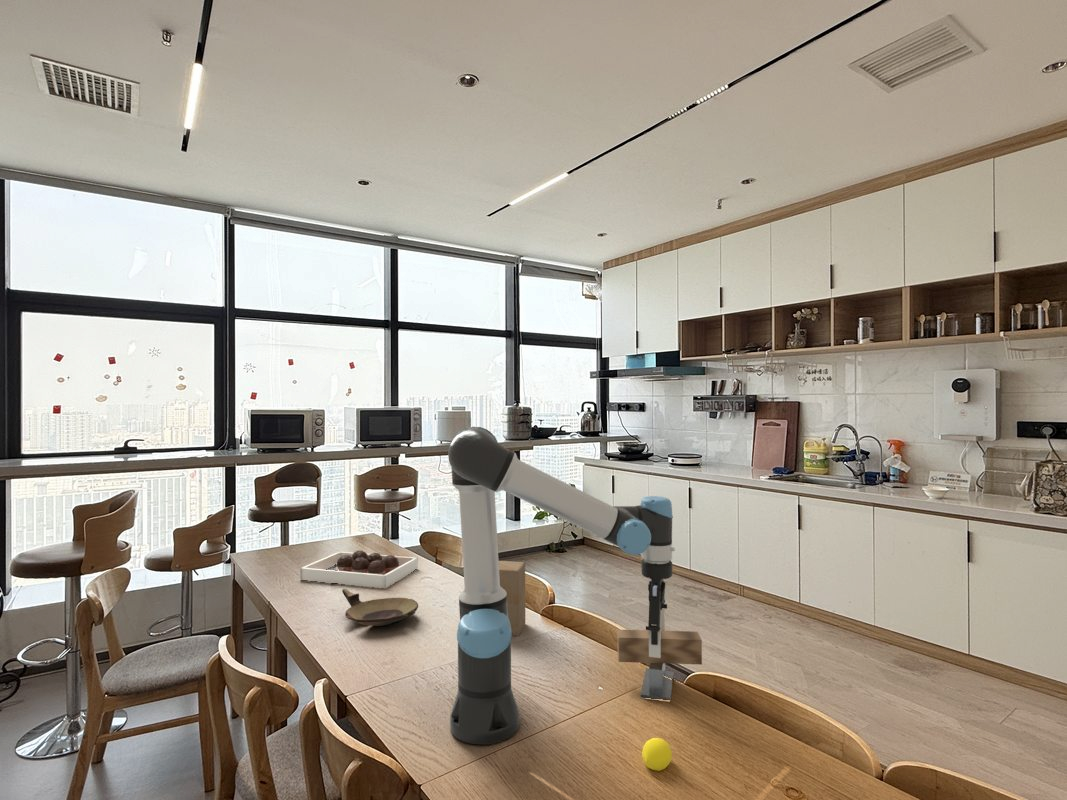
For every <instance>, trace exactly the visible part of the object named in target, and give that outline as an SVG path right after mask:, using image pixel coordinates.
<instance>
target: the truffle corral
mask: <svg viewBox="0 0 1067 800" xmlns="http://www.w3.org/2000/svg"><path fill="white" fill-rule="evenodd" d="M353 553H354V552H349V551H338V552H336V553H333V554H331V555H329V556H327V557H324V558H322V559H319V560H317V561H313V562H311V563H310V564H307V565H304V566H302V567H300V568H299V570H300V575H299V576H300V577H299V578H300V580H309V581H308V582H310V581H317V582H316V583H320V582H325V583H324V584H331V583H338V584H337V585H341V584H345V585H344V586H351V585H355V586H354V587H362V586H363V587H362V588H372V587H374V588H375V589H382V588H383V589H387V588H389V587H391V586H392V585H393V584H396V583H397V582H399V581H400V580H403V579H404V578H405V577H407V576H409V575H410V574H412V573H414V572H415V571H416V570H415V569H417V568H418V569H419V563H418V560H419V559H418V557H411V556H398V555H393V556H394V557H396V558H398V561H399V563H398V564H399V567H398V568H396V569H394V570H392V571H390V572H389V573H387V574H385V575H379V574H368V573H357V572H346V571H335V570H336V569H335V570H333V569H331V568H333V567H335V566H334V565H335V564H336V563H337V561H338V558H340V557H341V556H343V555H350V556H351V557H352V554H353ZM366 554H367V556H369V555H370V554H371V553H366ZM380 555H381V556H382V558H383V559H384V557H386V556H389V555H390V554H389V555H387V554H386V555H385V554H380ZM383 559H382V560H383ZM332 566H333V567H332ZM330 567H331V568H330ZM328 568H329V569H328ZM326 569H327V570H326ZM418 569H417V570H418ZM414 570H415V571H414ZM413 571H414V572H413ZM411 572H412V573H411ZM408 574H409V575H408ZM395 582H396V583H395ZM390 585H391V586H390ZM383 589H382V590H383Z"/></svg>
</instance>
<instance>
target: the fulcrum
mask: <svg viewBox="0 0 1067 800" xmlns="http://www.w3.org/2000/svg"><path fill="white" fill-rule="evenodd" d="M663 675H664V676H666V677H668V678H671V679H673V681H672V680H670V679H668V678H665V677H664V676H663ZM674 675H675V673H674V671H672V670H671V671H669V670H666V663H649V666H648V668H645V672H644V676H643V682H642V685H641V690H640V696H639V697H640V699H642V698H651V699H663V700H672V693H671V691H672V690H673V685H672V682H673V683H674ZM672 692H673V691H672ZM641 697H642V698H641Z"/></svg>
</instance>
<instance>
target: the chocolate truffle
mask: <svg viewBox="0 0 1067 800" xmlns="http://www.w3.org/2000/svg"><path fill="white" fill-rule="evenodd" d="M352 553H353V554H352V557H351V556H350V555H343V556H341V557H340V558H338V561H337V565H336V566H335V567H336V568H337V569H339V571H346V572H357V573H368V574H379V575H385V574H387V573H389V572H390V571H392V570H394V569H396V568H398V567H399V564H398V563H399V561H398V558H396V557H394V556H395V555H392V554H389V556H386V557H384V559H383V558H382V556H381V555H382V554H380V553H378V552H373V553H372V552H371V553H369V554H370V555H369V556H367V554H368V553H367V552H365V551H363V550H359V549H357V550H356V551H354V552H352ZM382 559H383V560H382Z"/></svg>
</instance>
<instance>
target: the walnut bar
mask: <svg viewBox="0 0 1067 800" xmlns="http://www.w3.org/2000/svg"><path fill="white" fill-rule="evenodd" d="M616 635H617V636H616V637H617V641H616V642H617V659H618V663H640V664H641V663H642V664H643V663H645V664H650V663H665V664H670V665H671V664H672V665H673V664H674V665H702V664H703V660H702V659H703V657H702V656H703V654H702V653H703V652H702V651H703V646H702V645H703V644H702V643H703V642H702V641H703V639H702V637H701V635H700V633H699V632H698V631H690V630H689V631H685V630H681V631H680V630H665V631H661V658H655V657H649V630H646V629H617V634H616Z"/></svg>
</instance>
